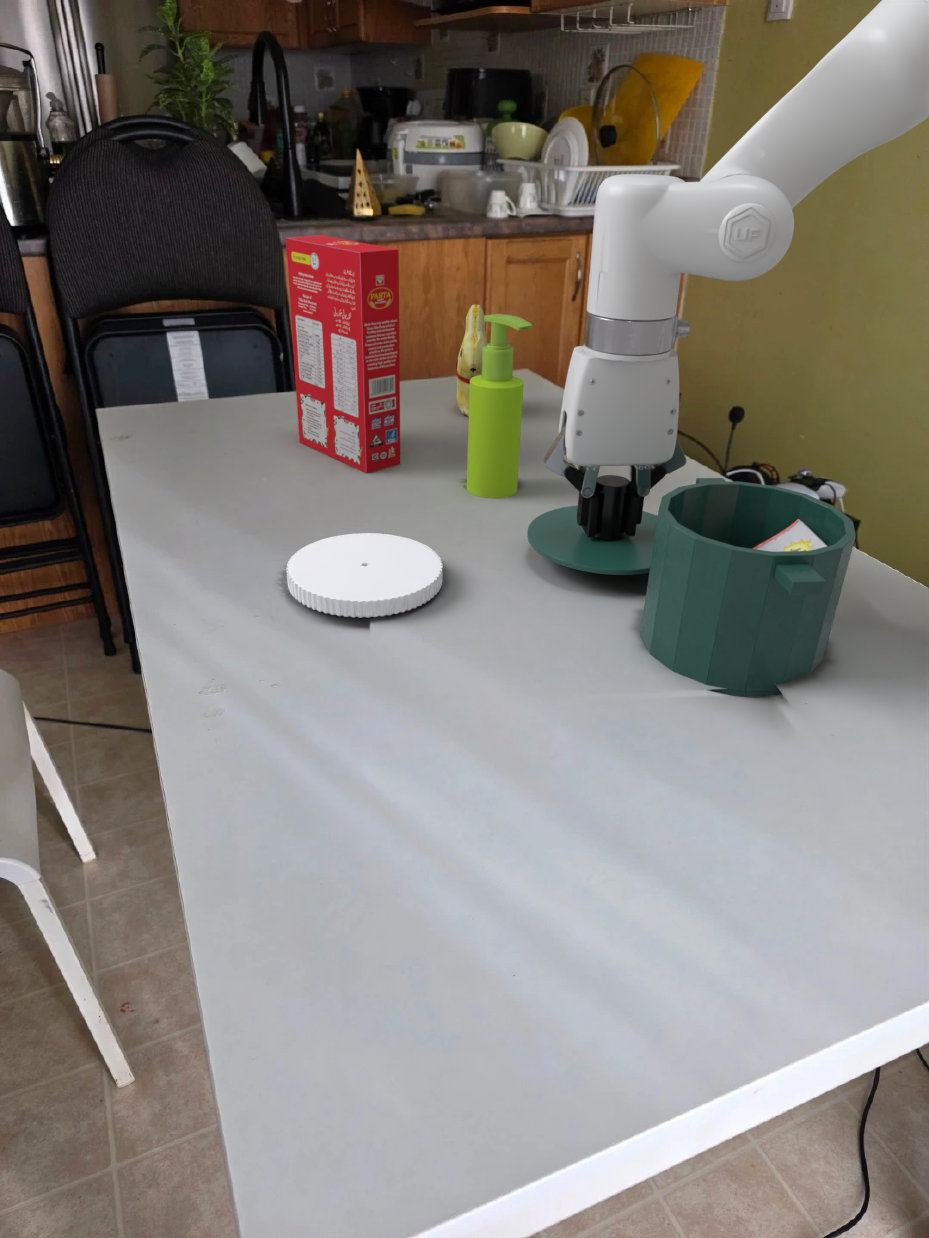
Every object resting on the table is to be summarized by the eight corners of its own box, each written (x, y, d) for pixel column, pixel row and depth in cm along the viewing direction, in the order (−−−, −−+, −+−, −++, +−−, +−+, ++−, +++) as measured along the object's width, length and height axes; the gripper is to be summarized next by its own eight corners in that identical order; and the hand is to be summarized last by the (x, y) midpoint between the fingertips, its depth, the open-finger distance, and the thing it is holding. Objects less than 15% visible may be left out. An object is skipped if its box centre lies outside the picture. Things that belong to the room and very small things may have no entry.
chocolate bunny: (453, 420, 127) (455, 312, 120) (456, 399, 137) (459, 297, 129) (500, 422, 127) (506, 313, 120) (500, 400, 137) (505, 299, 129)
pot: (763, 590, 83) (790, 469, 77) (868, 714, 66) (913, 570, 60) (614, 594, 82) (629, 470, 76) (681, 721, 64) (708, 574, 58)
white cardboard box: (738, 621, 77) (816, 530, 73) (767, 663, 71) (854, 566, 67) (706, 603, 75) (784, 509, 72) (733, 644, 70) (819, 544, 66)
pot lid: (659, 512, 93) (668, 452, 90) (709, 578, 80) (721, 510, 77) (515, 516, 92) (518, 454, 88) (542, 583, 78) (547, 514, 75)
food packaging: (400, 464, 110) (398, 249, 98) (366, 473, 107) (360, 252, 95) (332, 434, 120) (323, 235, 107) (299, 442, 117) (285, 237, 104)
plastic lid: (418, 637, 74) (418, 611, 72) (262, 614, 76) (260, 588, 75) (458, 566, 86) (458, 543, 84) (322, 548, 88) (320, 525, 87)
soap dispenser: (497, 509, 98) (506, 324, 89) (456, 491, 103) (460, 313, 93) (533, 497, 102) (546, 318, 92) (492, 480, 106) (500, 307, 96)
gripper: (706, 326, 80) (678, 514, 89) (527, 326, 78) (517, 518, 87) (736, 344, 73) (703, 545, 83) (542, 345, 72) (529, 550, 81)
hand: (607, 529), depth 85 cm, fingers closed on pot lid, 3 cm apart
